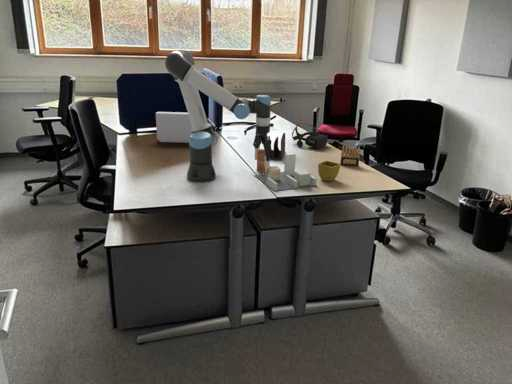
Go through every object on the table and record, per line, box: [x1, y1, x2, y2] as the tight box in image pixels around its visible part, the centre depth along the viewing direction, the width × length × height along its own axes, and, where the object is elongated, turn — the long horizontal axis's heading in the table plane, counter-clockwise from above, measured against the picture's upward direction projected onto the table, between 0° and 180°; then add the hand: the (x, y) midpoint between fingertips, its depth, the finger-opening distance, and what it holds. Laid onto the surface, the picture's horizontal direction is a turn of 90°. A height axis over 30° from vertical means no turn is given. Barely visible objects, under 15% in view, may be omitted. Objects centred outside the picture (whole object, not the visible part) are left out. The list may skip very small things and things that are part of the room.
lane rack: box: [254, 171, 318, 192], centre depth 222 cm, size 25×24×4 cm
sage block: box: [283, 152, 312, 186], centre depth 220 cm, size 18×6×12 cm, turn 23°
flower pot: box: [317, 160, 342, 182], centre depth 224 cm, size 9×9×9 cm
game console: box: [155, 111, 192, 144], centre depth 291 cm, size 6×27×20 cm, turn 89°
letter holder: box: [270, 132, 286, 162], centre depth 264 cm, size 10×20×14 cm, turn 170°
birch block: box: [256, 148, 281, 181], centre depth 226 cm, size 18×6×12 cm, turn 23°
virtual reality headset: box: [291, 122, 329, 150], centre depth 290 cm, size 19×24×15 cm
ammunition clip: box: [339, 145, 361, 168], centre depth 248 cm, size 11×2×12 cm, turn 78°
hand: (261, 163), depth 234 cm, fingers open, 13 cm apart
